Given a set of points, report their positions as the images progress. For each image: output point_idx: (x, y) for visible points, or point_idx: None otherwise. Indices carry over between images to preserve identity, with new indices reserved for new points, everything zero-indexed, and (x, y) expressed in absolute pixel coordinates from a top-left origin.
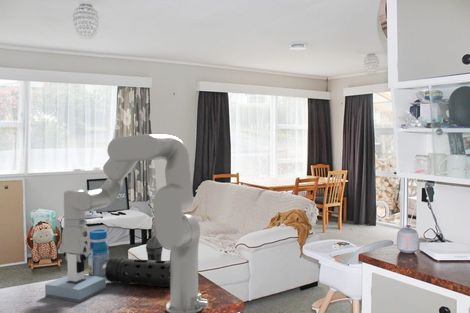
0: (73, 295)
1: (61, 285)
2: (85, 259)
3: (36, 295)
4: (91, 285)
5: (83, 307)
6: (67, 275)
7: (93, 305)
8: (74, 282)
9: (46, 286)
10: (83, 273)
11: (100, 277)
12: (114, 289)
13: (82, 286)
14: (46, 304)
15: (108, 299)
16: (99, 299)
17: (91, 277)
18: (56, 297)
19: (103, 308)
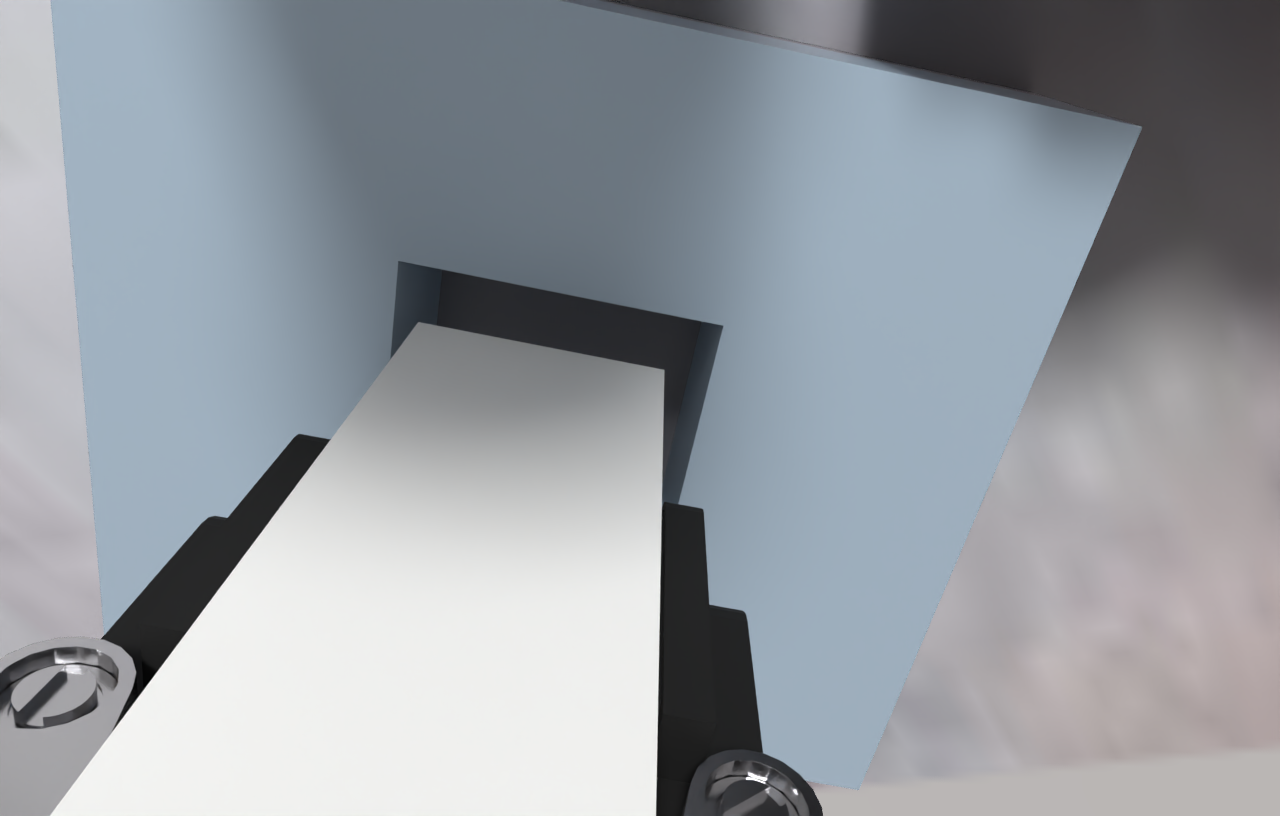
0: None
1: None
2: (816, 809)
3: (49, 516)
4: (951, 548)
5: (949, 755)
6: (63, 120)
7: (1055, 697)
8: (419, 276)
9: None
10: (660, 427)
11: (991, 128)
12: (1210, 62)
13: (834, 668)
14: None
15: (1212, 507)
16: (1069, 524)
17: (755, 165)
18: None
19: (1218, 752)
